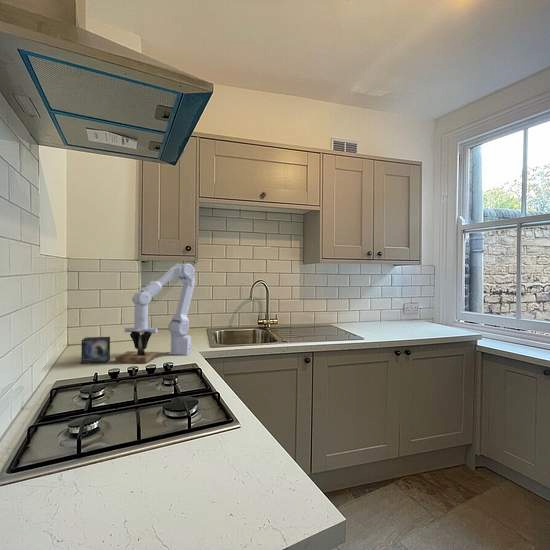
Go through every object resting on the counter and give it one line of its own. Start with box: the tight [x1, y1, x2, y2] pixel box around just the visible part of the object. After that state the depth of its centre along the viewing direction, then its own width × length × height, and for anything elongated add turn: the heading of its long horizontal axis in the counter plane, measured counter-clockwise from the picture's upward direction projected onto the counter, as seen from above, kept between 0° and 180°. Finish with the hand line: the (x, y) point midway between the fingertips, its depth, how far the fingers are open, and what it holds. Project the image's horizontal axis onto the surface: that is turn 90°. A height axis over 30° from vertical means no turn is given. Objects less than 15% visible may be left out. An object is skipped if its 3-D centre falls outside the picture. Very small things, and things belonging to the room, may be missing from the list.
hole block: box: [114, 350, 158, 364], centre depth 157 cm, size 14×11×2 cm
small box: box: [80, 336, 111, 365], centre depth 153 cm, size 11×6×10 cm, turn 105°
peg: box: [136, 334, 146, 356], centre depth 157 cm, size 3×3×9 cm
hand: (140, 348), depth 157 cm, fingers closed on peg, 3 cm apart
